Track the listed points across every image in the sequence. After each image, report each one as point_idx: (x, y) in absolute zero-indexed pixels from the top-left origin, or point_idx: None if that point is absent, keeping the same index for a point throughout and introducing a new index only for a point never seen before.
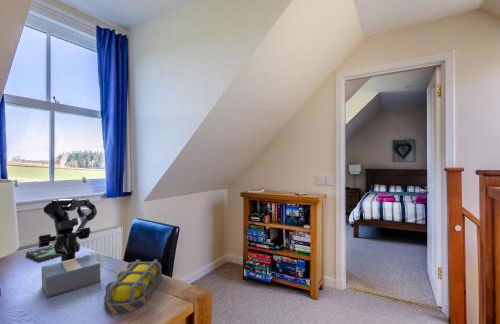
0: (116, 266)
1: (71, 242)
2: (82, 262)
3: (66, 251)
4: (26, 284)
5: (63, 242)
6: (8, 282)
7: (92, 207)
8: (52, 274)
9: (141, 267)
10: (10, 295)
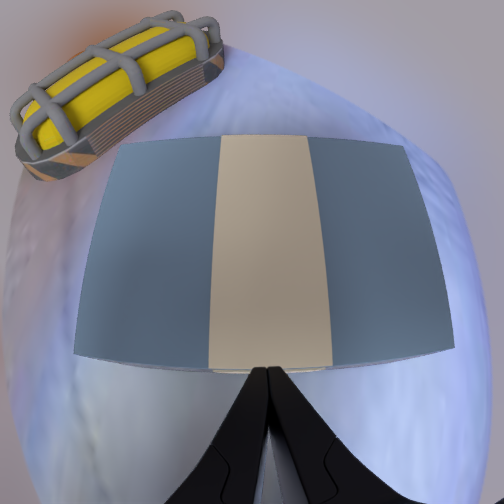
0: (36, 337)
1: (193, 478)
2: (186, 219)
3: (293, 386)
4: (437, 432)
5: (355, 499)
6: (474, 487)
7: None
8: (378, 155)
9: (70, 76)
10: (478, 341)
